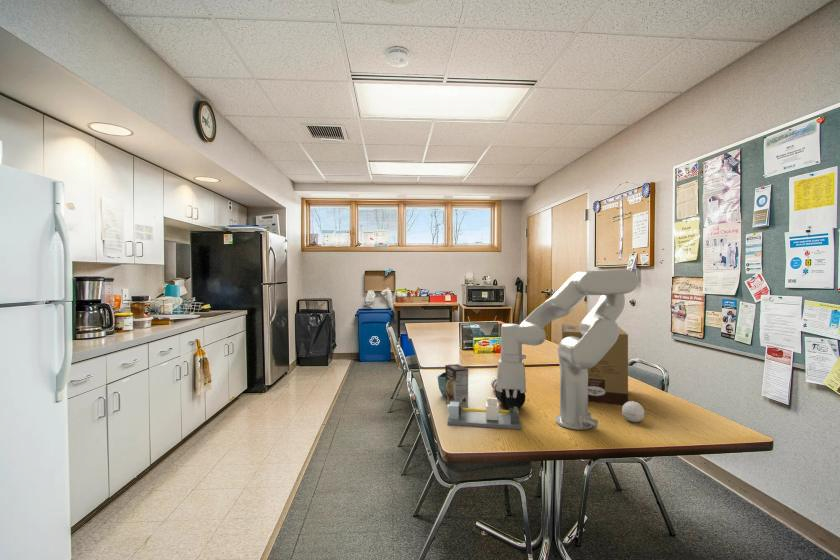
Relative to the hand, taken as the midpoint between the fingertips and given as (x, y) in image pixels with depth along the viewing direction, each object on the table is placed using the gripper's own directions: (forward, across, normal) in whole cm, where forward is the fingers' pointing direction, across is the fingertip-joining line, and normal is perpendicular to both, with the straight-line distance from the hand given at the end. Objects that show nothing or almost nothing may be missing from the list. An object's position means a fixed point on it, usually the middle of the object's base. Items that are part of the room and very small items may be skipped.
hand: (511, 407), depth 135 cm
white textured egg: (+6, -45, -8) cm, 46 cm away
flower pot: (+6, +25, -29) cm, 39 cm away
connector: (+5, +21, 0) cm, 21 cm away
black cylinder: (+6, +1, -28) cm, 29 cm away
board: (+6, +10, 0) cm, 12 cm away
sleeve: (+4, +7, 0) cm, 8 cm away
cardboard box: (+6, -39, -41) cm, 57 cm away
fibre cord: (+2, +9, 0) cm, 9 cm away
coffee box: (+6, +21, -16) cm, 27 cm away
